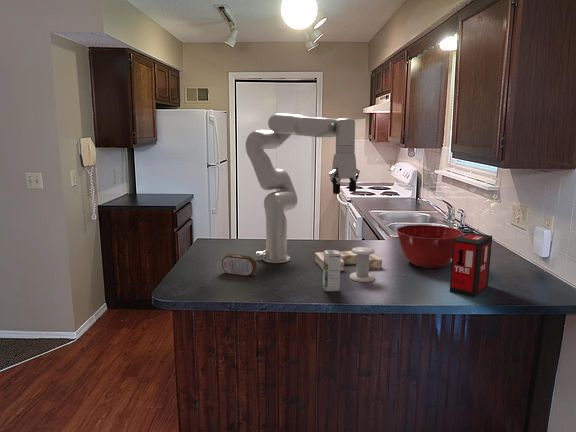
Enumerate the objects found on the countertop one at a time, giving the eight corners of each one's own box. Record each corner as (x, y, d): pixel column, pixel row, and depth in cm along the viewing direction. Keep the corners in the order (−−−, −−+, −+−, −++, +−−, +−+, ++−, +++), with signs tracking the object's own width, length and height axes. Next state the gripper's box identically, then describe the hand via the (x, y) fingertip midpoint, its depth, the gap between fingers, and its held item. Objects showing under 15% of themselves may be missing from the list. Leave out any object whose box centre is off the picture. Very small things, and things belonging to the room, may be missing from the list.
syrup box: (322, 286, 174) (323, 249, 172) (337, 286, 175) (338, 249, 172) (324, 291, 169) (325, 254, 166) (340, 291, 169) (341, 253, 166)
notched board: (324, 271, 193) (324, 262, 192) (314, 260, 208) (314, 252, 207) (381, 268, 197) (382, 259, 197) (368, 258, 213) (368, 250, 212)
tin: (257, 275, 187) (256, 256, 185) (254, 278, 184) (253, 258, 182) (224, 271, 192) (223, 252, 190) (220, 274, 189) (220, 254, 187)
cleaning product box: (473, 297, 164) (478, 243, 160) (449, 291, 169) (453, 239, 166) (487, 285, 176) (492, 235, 172) (464, 280, 182) (468, 232, 178)
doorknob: (354, 282, 179) (355, 253, 176) (346, 274, 188) (347, 247, 186) (378, 281, 180) (379, 252, 178) (369, 273, 190) (370, 246, 188)
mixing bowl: (383, 264, 204) (384, 230, 201) (413, 252, 224) (415, 221, 221) (443, 278, 185) (446, 241, 182) (470, 263, 205) (473, 230, 203)
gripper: (352, 149, 188) (351, 190, 191) (323, 150, 177) (322, 193, 180) (366, 149, 183) (365, 191, 186) (337, 150, 171) (336, 195, 175)
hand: (344, 192), depth 183 cm, fingers open, 9 cm apart
